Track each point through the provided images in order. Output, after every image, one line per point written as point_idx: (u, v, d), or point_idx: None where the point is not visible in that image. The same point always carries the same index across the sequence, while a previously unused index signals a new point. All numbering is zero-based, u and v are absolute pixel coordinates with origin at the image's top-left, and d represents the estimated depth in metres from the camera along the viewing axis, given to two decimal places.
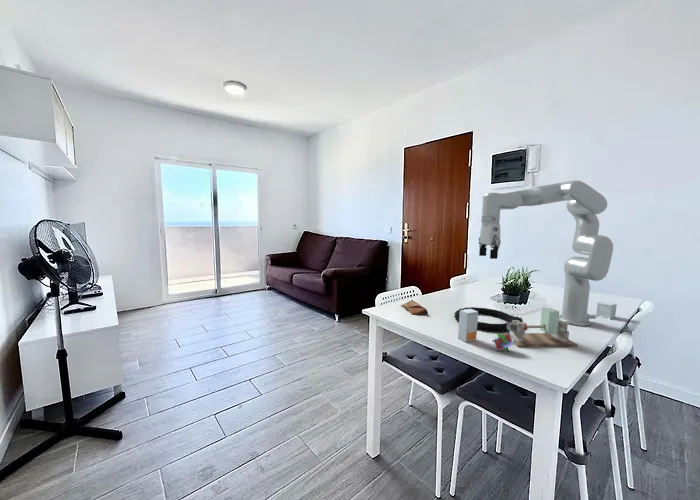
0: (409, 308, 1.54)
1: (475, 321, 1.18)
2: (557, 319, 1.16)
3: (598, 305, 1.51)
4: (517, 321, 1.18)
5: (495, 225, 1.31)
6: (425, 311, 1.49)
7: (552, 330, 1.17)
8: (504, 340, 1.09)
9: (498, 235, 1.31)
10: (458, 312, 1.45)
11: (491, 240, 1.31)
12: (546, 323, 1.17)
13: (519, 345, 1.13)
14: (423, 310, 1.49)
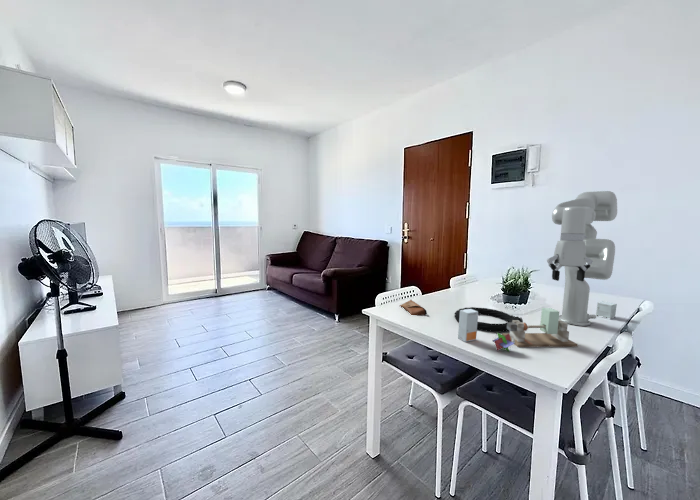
0: (408, 308, 1.54)
1: (475, 321, 1.18)
2: (557, 319, 1.16)
3: (598, 305, 1.51)
4: (517, 321, 1.18)
5: None
6: (424, 311, 1.49)
7: (552, 330, 1.17)
8: (504, 340, 1.09)
9: None
10: (458, 312, 1.45)
11: None
12: (546, 323, 1.17)
13: (519, 345, 1.13)
14: (422, 310, 1.49)
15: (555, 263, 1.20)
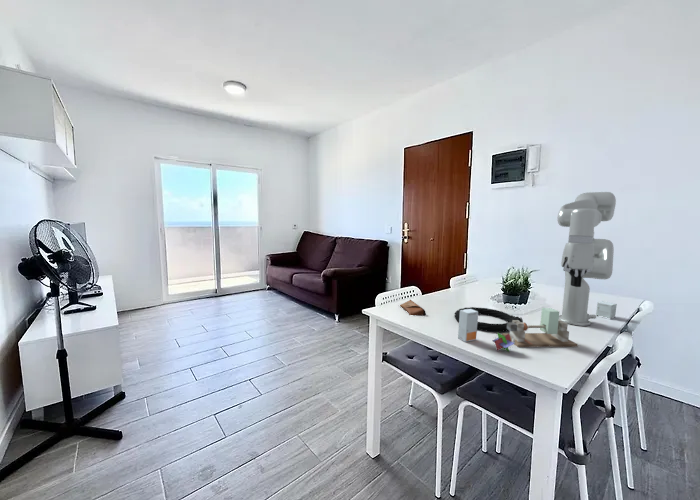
0: (407, 308, 1.54)
1: (475, 321, 1.18)
2: (557, 319, 1.16)
3: (598, 305, 1.51)
4: (517, 321, 1.18)
5: None
6: (423, 311, 1.49)
7: (552, 330, 1.17)
8: (504, 340, 1.09)
9: None
10: (458, 312, 1.45)
11: (589, 268, 1.15)
12: (546, 323, 1.17)
13: (519, 345, 1.13)
14: (421, 310, 1.49)
15: (563, 266, 1.18)
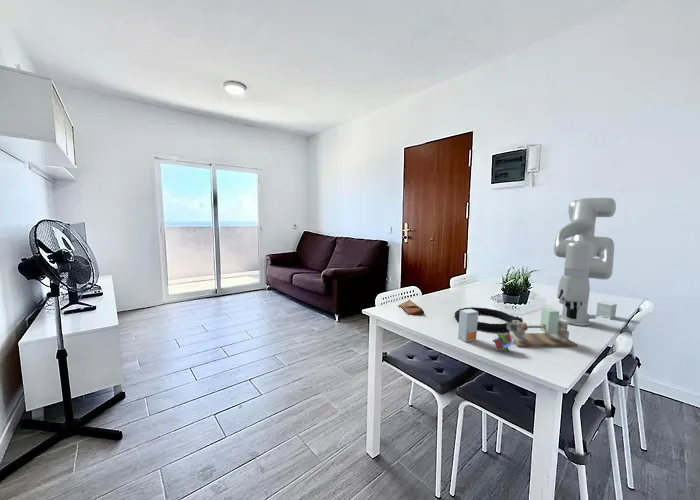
0: (405, 308, 1.54)
1: (475, 321, 1.18)
2: (557, 319, 1.16)
3: (598, 305, 1.51)
4: (517, 321, 1.18)
5: None
6: (421, 311, 1.49)
7: (552, 330, 1.17)
8: (504, 340, 1.09)
9: None
10: (458, 312, 1.45)
11: None
12: (546, 323, 1.17)
13: (519, 345, 1.13)
14: (419, 310, 1.49)
15: (559, 298, 1.19)
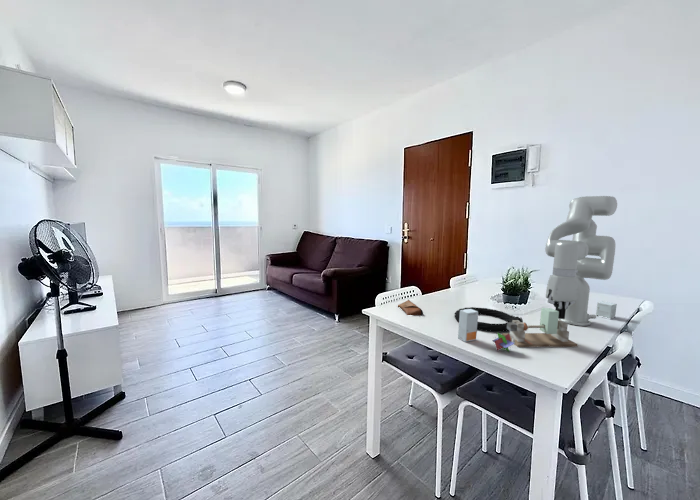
0: (405, 308, 1.54)
1: (475, 321, 1.18)
2: (557, 319, 1.16)
3: (598, 305, 1.51)
4: (517, 321, 1.18)
5: None
6: (420, 311, 1.49)
7: (552, 330, 1.17)
8: (504, 340, 1.09)
9: None
10: (458, 312, 1.45)
11: None
12: (546, 323, 1.17)
13: (519, 345, 1.13)
14: (418, 310, 1.49)
15: (548, 298, 1.19)
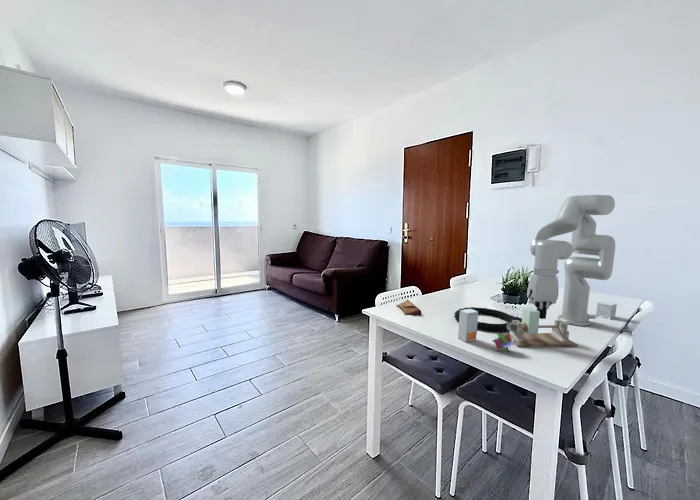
0: (403, 308, 1.54)
1: (475, 321, 1.18)
2: (537, 319, 1.16)
3: (598, 305, 1.51)
4: (517, 321, 1.18)
5: None
6: (419, 311, 1.48)
7: (533, 330, 1.16)
8: (504, 340, 1.09)
9: None
10: (458, 312, 1.45)
11: None
12: (527, 323, 1.17)
13: (519, 345, 1.13)
14: (417, 310, 1.49)
15: (529, 298, 1.18)
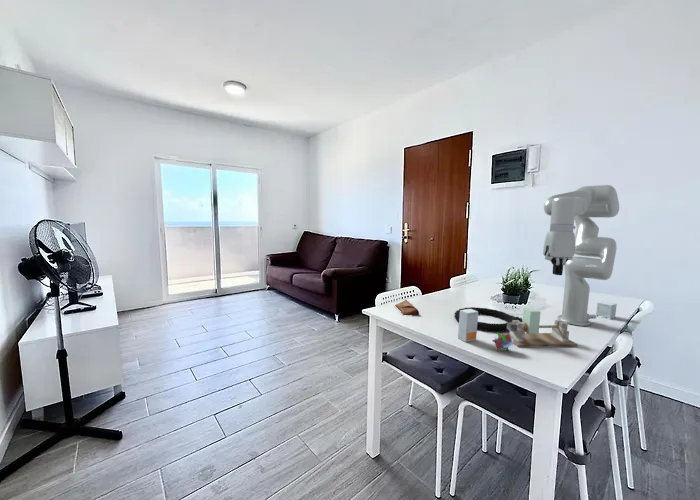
0: (401, 308, 1.54)
1: (475, 321, 1.18)
2: (538, 319, 1.16)
3: (598, 305, 1.51)
4: (517, 321, 1.18)
5: None
6: (416, 311, 1.48)
7: (533, 330, 1.16)
8: (504, 340, 1.09)
9: None
10: (458, 312, 1.45)
11: (570, 256, 1.16)
12: (527, 323, 1.17)
13: (519, 345, 1.13)
14: (414, 310, 1.48)
15: (545, 254, 1.18)
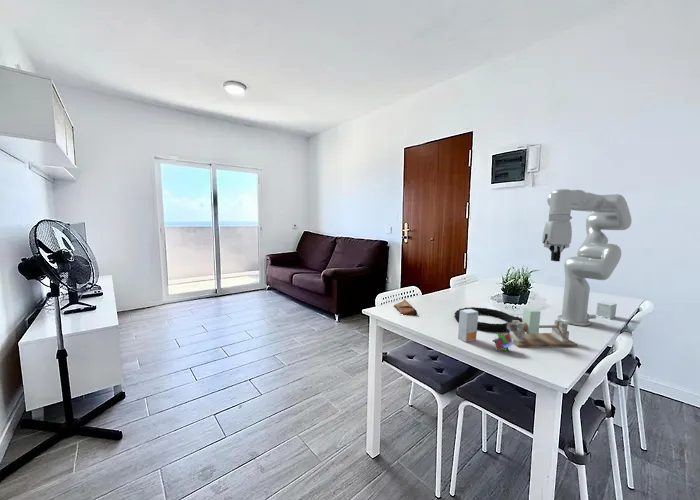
0: (399, 308, 1.54)
1: (475, 321, 1.18)
2: (538, 319, 1.16)
3: (598, 305, 1.51)
4: (517, 321, 1.18)
5: None
6: (414, 311, 1.48)
7: (533, 330, 1.16)
8: (504, 340, 1.09)
9: None
10: (458, 312, 1.45)
11: (567, 244, 1.26)
12: (527, 323, 1.17)
13: (519, 345, 1.13)
14: (412, 310, 1.48)
15: (544, 242, 1.29)
